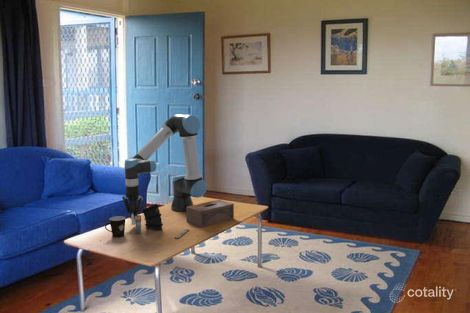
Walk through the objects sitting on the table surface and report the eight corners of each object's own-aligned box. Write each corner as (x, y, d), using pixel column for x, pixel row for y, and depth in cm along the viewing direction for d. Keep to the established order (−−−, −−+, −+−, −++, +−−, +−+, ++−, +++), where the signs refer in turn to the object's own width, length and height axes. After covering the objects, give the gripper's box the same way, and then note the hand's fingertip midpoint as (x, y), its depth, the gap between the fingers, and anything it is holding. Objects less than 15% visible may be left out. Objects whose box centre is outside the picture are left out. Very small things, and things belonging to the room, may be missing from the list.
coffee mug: (125, 232, 272) (124, 215, 271) (127, 237, 264) (126, 219, 263) (104, 235, 268) (103, 217, 267) (105, 239, 260) (104, 221, 259)
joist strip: (185, 229, 276) (185, 229, 276) (189, 230, 275) (189, 229, 275) (174, 238, 261) (174, 237, 261) (178, 238, 260) (178, 238, 260)
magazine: (162, 229, 272) (153, 204, 274) (148, 235, 280) (139, 211, 282) (166, 227, 275) (157, 203, 277) (152, 233, 283) (144, 209, 285)
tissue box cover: (201, 227, 281) (200, 211, 279) (186, 222, 291) (186, 206, 290) (233, 219, 298) (233, 203, 296) (219, 214, 308) (218, 199, 307)
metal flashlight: (137, 231, 273) (136, 215, 272) (142, 232, 272) (141, 215, 271) (134, 233, 270) (133, 216, 269) (139, 234, 269) (139, 217, 268)
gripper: (118, 186, 277) (120, 225, 281) (139, 187, 274) (140, 226, 277) (125, 183, 284) (127, 221, 288) (145, 184, 281) (146, 223, 284)
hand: (133, 224), depth 283 cm, fingers closed
